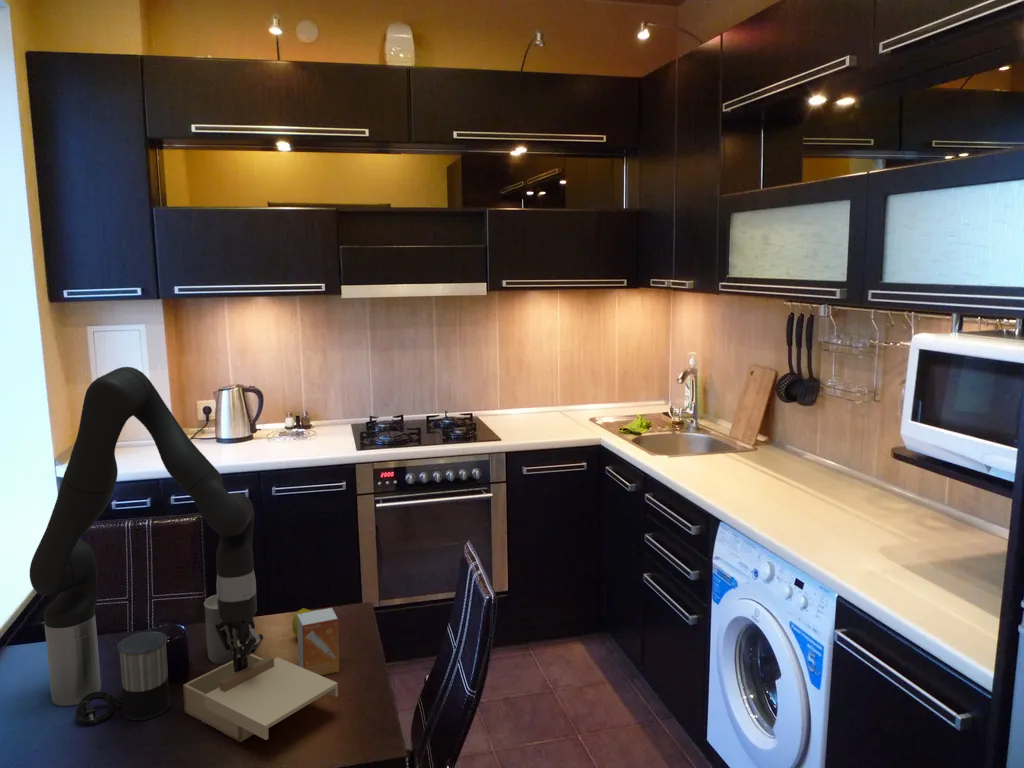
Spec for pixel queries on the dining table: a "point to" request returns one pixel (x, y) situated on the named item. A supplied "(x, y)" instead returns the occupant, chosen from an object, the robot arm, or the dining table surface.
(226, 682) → the lid
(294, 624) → the lemon
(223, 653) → the pillar candle
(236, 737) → the tray
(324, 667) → the small box
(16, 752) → the dining table surface
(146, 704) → the milk frother
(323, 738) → the dining table surface
